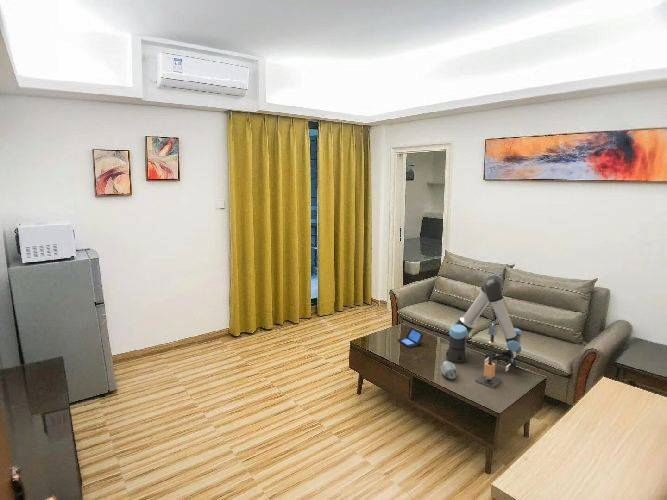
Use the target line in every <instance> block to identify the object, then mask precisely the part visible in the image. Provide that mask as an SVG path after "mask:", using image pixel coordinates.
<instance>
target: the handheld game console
mask: <svg viewBox="0 0 667 500" xmlns="http://www.w3.org/2000/svg"><path fill="white" fill-rule="evenodd" d="M423 336H424V333H422V332H420V331H419V330H417V329H416V328H414V327H410V329H409V330H408V332H407V334H406V336H405V337H401V338H397V342H398V343H400V344H401V345H403V346H405V347H406V348H408V349H411V348H416V347H419V344H420V342H421V341H422V339H423Z"/></svg>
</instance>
